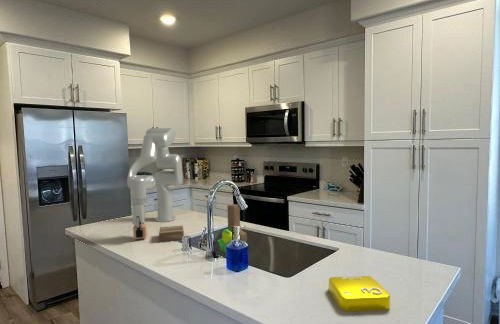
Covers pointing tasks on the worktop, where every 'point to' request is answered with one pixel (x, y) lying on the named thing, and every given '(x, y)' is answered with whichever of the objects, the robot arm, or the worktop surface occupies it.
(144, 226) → the terracotta cube
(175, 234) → the walnut base block
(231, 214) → the wooden block
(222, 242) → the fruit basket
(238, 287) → the worktop surface
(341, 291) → the element tile
